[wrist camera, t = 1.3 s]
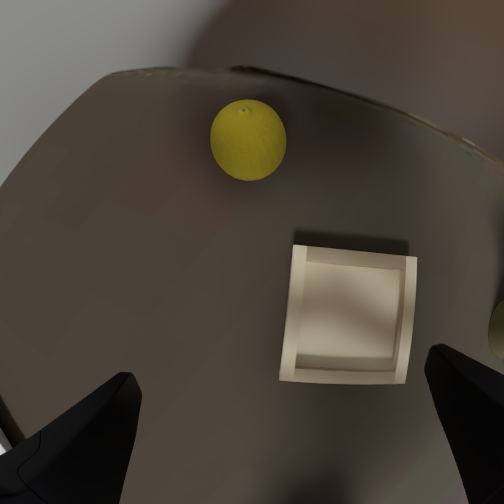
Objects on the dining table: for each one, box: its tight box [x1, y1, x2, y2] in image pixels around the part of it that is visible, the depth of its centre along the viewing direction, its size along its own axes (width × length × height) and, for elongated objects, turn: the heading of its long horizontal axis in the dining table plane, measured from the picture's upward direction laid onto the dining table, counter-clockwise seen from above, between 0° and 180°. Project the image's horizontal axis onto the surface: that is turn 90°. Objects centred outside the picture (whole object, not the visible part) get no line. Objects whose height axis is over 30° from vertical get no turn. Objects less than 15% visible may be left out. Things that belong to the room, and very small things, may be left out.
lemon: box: [210, 99, 286, 181], centre depth 21 cm, size 6×6×8 cm
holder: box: [279, 245, 417, 384], centre depth 21 cm, size 10×10×2 cm
